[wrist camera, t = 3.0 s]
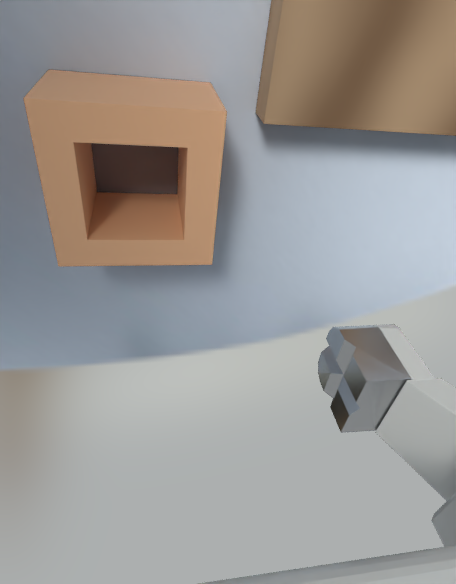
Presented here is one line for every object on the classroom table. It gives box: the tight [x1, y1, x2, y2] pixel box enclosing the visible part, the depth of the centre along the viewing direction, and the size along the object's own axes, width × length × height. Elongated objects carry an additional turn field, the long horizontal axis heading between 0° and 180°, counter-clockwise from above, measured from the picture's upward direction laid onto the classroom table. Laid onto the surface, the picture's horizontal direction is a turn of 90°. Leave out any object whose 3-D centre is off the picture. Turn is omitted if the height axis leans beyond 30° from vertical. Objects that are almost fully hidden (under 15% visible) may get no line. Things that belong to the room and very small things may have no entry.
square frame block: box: [23, 70, 227, 266], centre depth 15 cm, size 6×6×4 cm
